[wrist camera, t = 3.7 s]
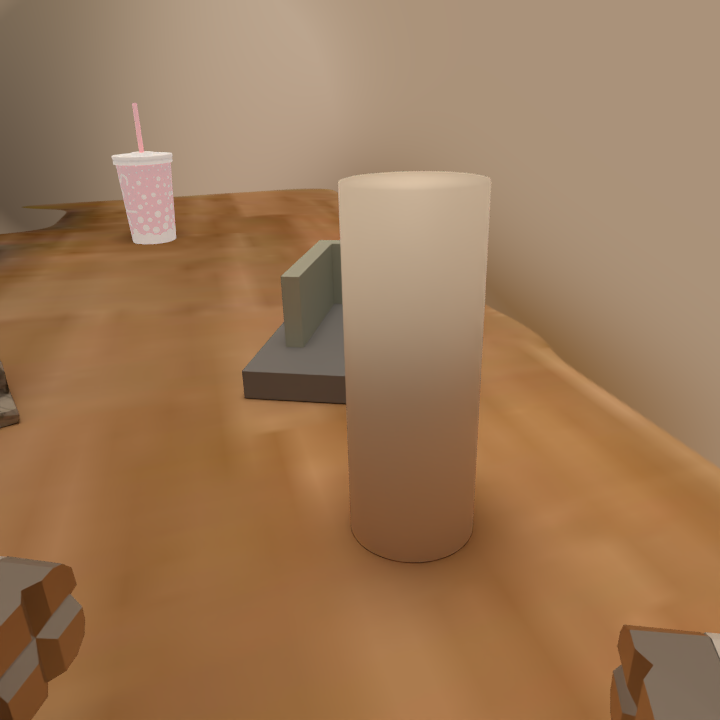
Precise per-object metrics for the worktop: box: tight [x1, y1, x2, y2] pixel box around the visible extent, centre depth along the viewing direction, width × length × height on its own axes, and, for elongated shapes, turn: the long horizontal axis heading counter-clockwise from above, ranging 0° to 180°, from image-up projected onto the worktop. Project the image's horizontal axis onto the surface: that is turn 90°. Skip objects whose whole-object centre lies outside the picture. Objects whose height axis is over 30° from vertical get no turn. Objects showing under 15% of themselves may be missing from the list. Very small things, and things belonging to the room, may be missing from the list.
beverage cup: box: [112, 103, 176, 244], centre depth 68 cm, size 6×6×14 cm
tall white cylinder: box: [338, 171, 491, 562], centre depth 21 cm, size 4×4×12 cm
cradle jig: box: [242, 240, 346, 404], centre depth 37 cm, size 11×13×6 cm
